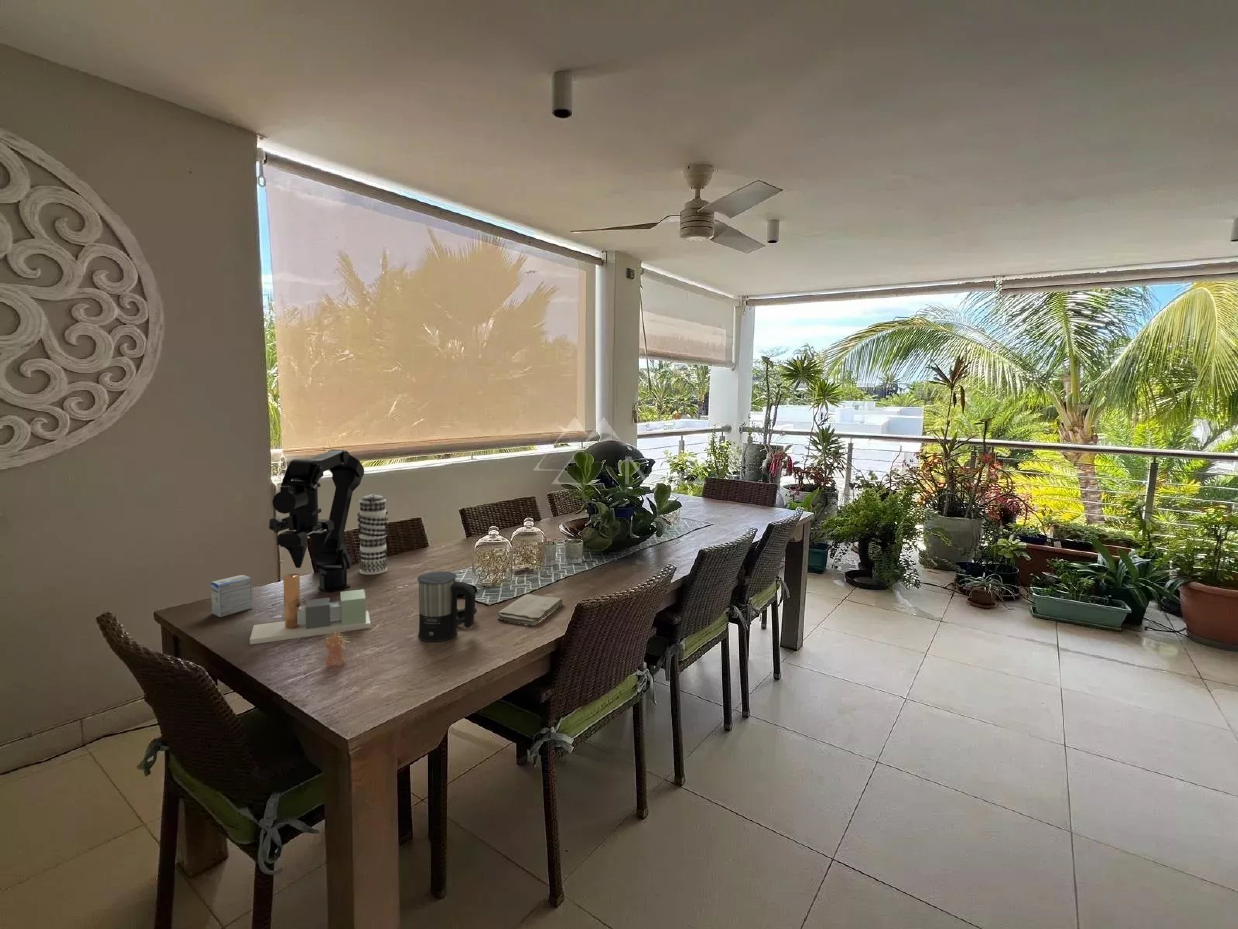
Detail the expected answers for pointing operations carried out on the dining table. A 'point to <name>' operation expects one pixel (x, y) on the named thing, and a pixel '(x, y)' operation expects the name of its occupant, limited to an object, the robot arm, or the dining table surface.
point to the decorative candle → (372, 535)
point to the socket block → (353, 607)
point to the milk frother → (443, 606)
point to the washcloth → (529, 609)
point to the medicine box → (231, 595)
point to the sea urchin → (335, 648)
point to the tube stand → (305, 625)
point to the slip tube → (292, 607)
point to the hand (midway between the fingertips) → (307, 562)
